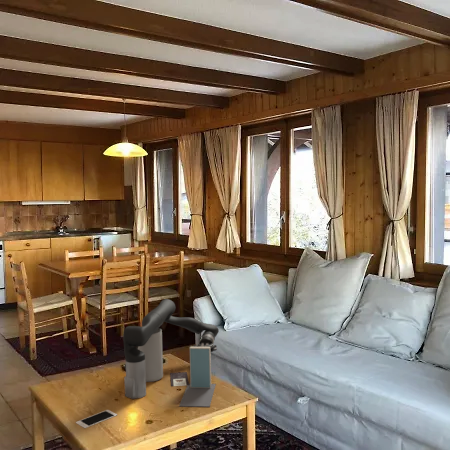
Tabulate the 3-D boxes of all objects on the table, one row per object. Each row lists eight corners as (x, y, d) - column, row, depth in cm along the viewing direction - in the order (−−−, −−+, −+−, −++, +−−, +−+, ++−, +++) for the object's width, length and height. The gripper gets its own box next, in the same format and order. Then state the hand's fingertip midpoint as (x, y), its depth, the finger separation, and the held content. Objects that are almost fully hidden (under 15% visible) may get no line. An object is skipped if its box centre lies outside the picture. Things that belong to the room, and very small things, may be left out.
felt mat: (209, 407, 223) (209, 406, 223) (179, 406, 225) (179, 405, 225) (215, 384, 249) (215, 383, 249) (188, 384, 250) (188, 383, 250)
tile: (191, 385, 247) (190, 346, 246) (211, 386, 246) (210, 346, 245) (190, 387, 245) (189, 348, 243) (210, 388, 244) (209, 348, 242)
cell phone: (75, 423, 211) (75, 422, 211) (107, 410, 223) (107, 409, 223) (84, 429, 206) (84, 427, 206) (117, 415, 217) (117, 414, 217)
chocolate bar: (186, 371, 266) (189, 385, 248) (186, 373, 266) (189, 386, 248) (170, 373, 265) (171, 386, 247) (170, 374, 265) (171, 388, 247)
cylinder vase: (143, 373, 267) (141, 327, 265) (165, 373, 265) (164, 327, 264) (135, 381, 255) (134, 334, 253) (159, 382, 253) (158, 334, 251)
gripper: (219, 349, 272) (215, 360, 254) (195, 349, 273) (190, 360, 256) (218, 335, 271) (215, 346, 254) (194, 335, 272) (189, 346, 255)
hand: (202, 353), depth 255 cm, fingers closed
